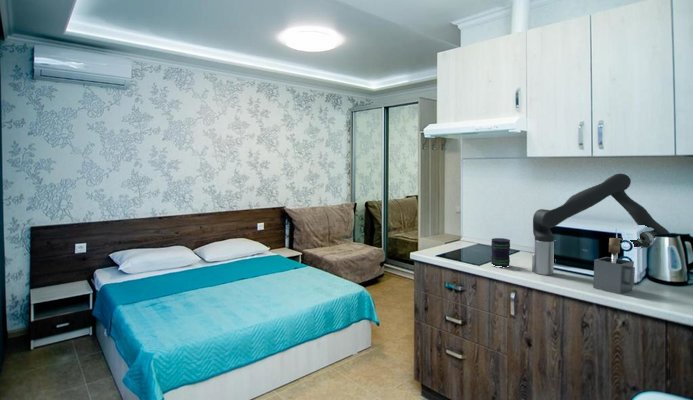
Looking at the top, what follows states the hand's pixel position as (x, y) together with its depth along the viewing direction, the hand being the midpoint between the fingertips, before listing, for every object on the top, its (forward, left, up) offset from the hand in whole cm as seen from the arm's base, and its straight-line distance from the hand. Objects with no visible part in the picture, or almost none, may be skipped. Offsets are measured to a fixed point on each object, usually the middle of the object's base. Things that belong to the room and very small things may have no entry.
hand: (624, 243), depth 180 cm
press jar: (+1, -9, -20) cm, 22 cm away
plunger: (0, -9, -19) cm, 21 cm away
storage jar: (-55, -15, -20) cm, 60 cm away
